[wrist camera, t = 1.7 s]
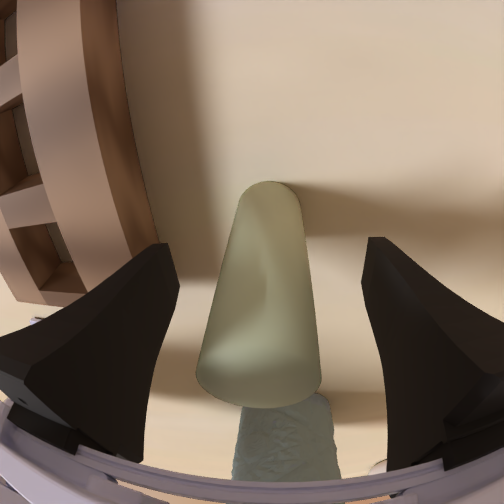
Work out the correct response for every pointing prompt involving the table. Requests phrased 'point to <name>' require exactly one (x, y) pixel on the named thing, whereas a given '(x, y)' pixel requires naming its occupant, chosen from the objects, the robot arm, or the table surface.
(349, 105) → the table surface
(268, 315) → the sage peg
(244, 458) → the green cup
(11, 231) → the hole block
